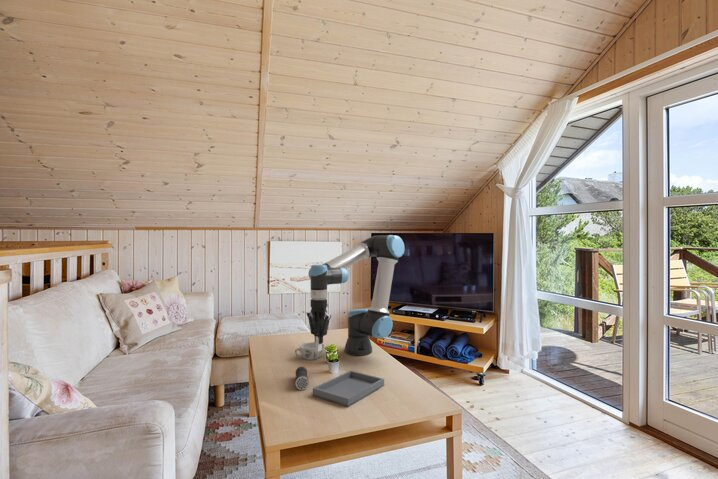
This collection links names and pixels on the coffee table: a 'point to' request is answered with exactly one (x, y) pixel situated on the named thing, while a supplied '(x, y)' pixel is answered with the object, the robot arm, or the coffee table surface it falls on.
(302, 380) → the flashlight
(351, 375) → the box
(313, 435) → the coffee table surface
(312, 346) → the teacup
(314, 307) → the robot arm
